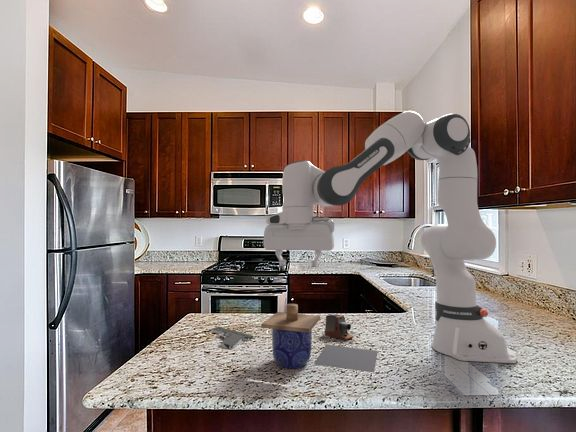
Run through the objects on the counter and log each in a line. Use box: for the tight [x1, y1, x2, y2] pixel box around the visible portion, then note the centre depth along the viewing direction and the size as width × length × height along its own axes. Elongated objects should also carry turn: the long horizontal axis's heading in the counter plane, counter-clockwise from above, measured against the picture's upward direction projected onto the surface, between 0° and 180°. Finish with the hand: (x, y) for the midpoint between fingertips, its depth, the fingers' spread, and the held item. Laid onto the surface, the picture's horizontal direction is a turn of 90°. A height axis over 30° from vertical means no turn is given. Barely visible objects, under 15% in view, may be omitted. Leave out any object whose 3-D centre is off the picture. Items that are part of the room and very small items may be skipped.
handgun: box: [211, 326, 254, 350], centre depth 113 cm, size 2×19×12 cm
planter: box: [271, 329, 313, 370], centre depth 92 cm, size 11×11×11 cm
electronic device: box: [324, 314, 355, 342], centre depth 115 cm, size 4×10×8 cm, turn 43°
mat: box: [313, 344, 379, 373], centre depth 96 cm, size 16×16×1 cm
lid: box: [260, 303, 321, 333], centre depth 93 cm, size 13×13×5 cm
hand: (298, 266), depth 95 cm, fingers open, 8 cm apart
